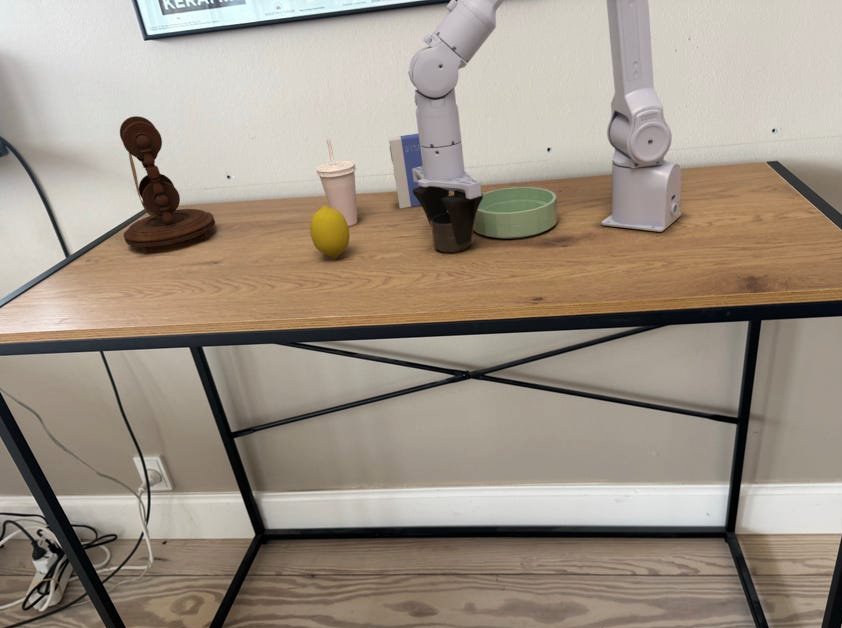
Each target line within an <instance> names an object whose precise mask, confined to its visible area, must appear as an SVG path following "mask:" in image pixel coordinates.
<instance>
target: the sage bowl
mask: <svg viewBox="0 0 842 628" xmlns="http://www.w3.org/2000/svg"><path fill="white" fill-rule="evenodd" d="M482 194H483V199H482V200H481V202H480V204H479V207H478V209H477V212H476V215H475V219H474V225H473V231H475V232H476V233H477V234H479V235H482V236H485V237H488V238H494V239H501V240H503V239H504V240H506V239H507V240H510V239H511V240H513V239H522V238H527V237H532V236H536V235H539V234H542V233H543V232H545V231H548V230H550V229H551V228H553V227H555V225H556V224H557V223H558V197H557V195H556V192H554V191H552V190H549V189H546V188H543V187H535V186H512V187H503V188H499V189H493V190H489V191H487V192H482Z"/></svg>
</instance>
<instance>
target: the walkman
mask: <svg viewBox="0 0 842 628" xmlns="http://www.w3.org/2000/svg"><path fill="white" fill-rule="evenodd" d="M388 144H389V152H390V153H389V154H390V158H391V159H390V160H391V162H392V167H393V176H394V180H395V187H396V193H397V200H398V205H399V209H405V208H412V207H418V206H421V204H420V202H419V201H418V199H417V198H416V197H415V195H414V194H413V189H414V188H418V187H420V186H419V185H418V182H414V179H413V172H412V169H413V168H417V167H421V166H423V164H422V156H421V148H420V142H419V134H418V133H412V134H404V135H398V136H391V137H389V140H388Z"/></svg>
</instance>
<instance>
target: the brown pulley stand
mask: <svg viewBox="0 0 842 628" xmlns="http://www.w3.org/2000/svg"><path fill="white" fill-rule="evenodd" d="M119 127H120V128H119V136H120V139H121V141H122V144H123V147H124V149H125V150H126V151H127V152H128V158H129V163H130V169H131V172H132V173H131V174H132V177H133V181H134V185H135V188H136V192H137V195H138V197H139V200H140V202H141V205H142V207H143V209H144V211H145V212H146V213H147V215H149V216H146V217H143V218H141V219H139V220H137V221H135V222H134V223H132V224H131V225H130V226H129V227H128V228H127V229H126V230H125V231H124V233H122V234H123V238H124V241H125V244H126V245H128V246H131V247H135V248H141V250H142V251H143V252H144V253H145V254H146V255H149V254H150V248H151V247H160V246H166V245H167V246H168V245H172V244H176V243H181V242H185V241H188V240H191V239H194V238H196V237H199V236H200V237H201V238H202V239H203V240H204V241H207V240H208V231H209V232H210V230H212V229H213V228H214V227H215V225H216V220H215V216H214V214H213V213H211V212H209V211H205V210H202V209H196V208H181V209H180V208H179V205H180V201H181V198H180V193H179V191H178V189H177V188H176V186H175V184H174V183H173V181H172V180H171V179H170V178H169V177H168V176H167V175H165V174H163V173H160V170H159V167H158V166H157V165H155V163H156V159H157V157H158V155H159V153H160V151H161V150H162V146H163V140H162V136H161V133H160V132H159V130H158V129H157V127H156V126H155V125H154V124H153V122H152V121H151V120H149V119H147V118H145V117H143V116H138V115H135V116H130V117H127V118H126V119H125V120H124V121H123V122H122V123H121V125H120V126H119ZM133 157H135V158H136V159H137V160H138V161H139V162H140V163H141V164H142V168H144V170H145V171H146V175H145V176H143V177H142V179H141V180H140V181H139V180H138V176H137V175H138V174H137V169H136V166H135V162H134V159H133ZM178 208H179V209H178Z"/></svg>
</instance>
